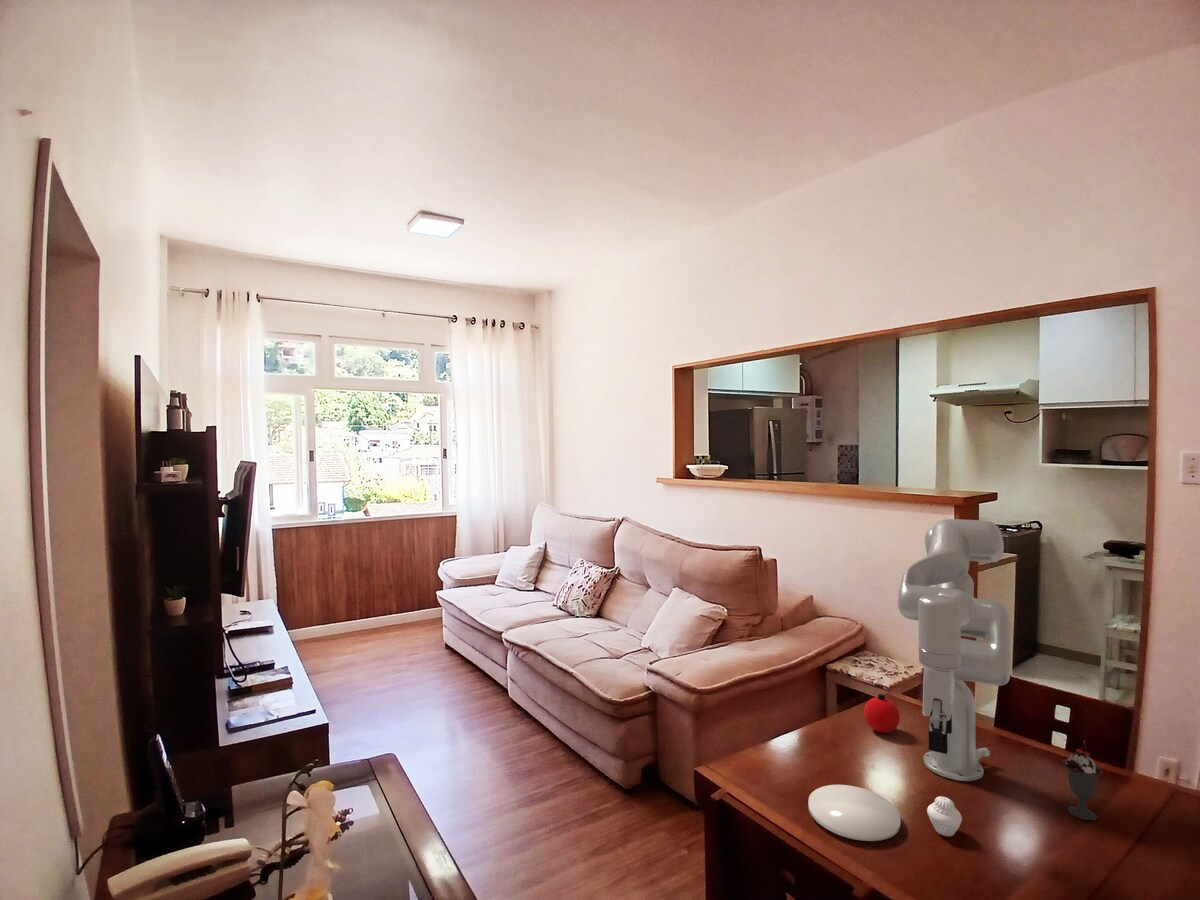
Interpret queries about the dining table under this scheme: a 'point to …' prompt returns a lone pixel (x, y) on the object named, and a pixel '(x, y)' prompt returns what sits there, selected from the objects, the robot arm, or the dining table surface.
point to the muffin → (944, 816)
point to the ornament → (881, 714)
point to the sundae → (1082, 781)
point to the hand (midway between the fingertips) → (940, 741)
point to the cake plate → (854, 812)
